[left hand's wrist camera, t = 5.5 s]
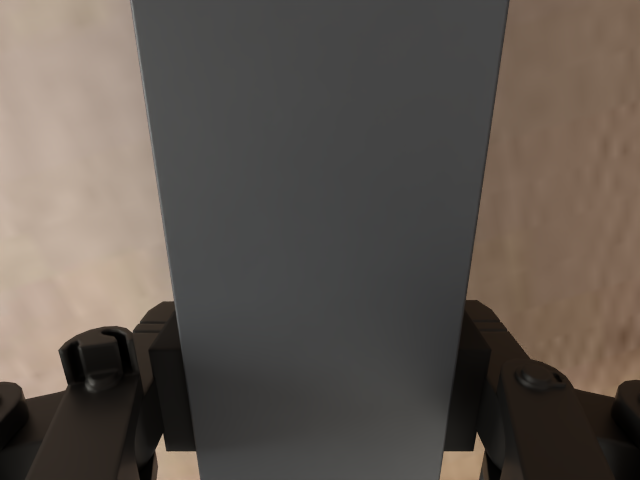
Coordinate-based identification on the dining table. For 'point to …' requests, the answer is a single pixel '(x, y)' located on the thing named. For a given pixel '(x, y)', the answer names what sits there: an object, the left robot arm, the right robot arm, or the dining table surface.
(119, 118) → the dining table surface
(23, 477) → the left robot arm
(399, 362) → the post
